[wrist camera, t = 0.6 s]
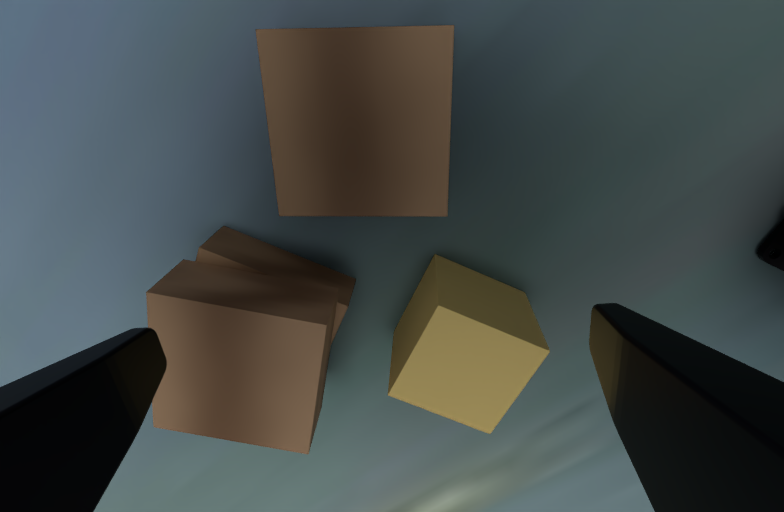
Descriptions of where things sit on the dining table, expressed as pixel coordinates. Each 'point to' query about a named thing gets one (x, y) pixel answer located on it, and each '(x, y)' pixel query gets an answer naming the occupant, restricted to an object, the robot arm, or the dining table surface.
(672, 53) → the dining table surface
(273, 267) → the walnut slab lower
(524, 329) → the mustard cube
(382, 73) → the walnut slab
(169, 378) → the walnut slab upper
